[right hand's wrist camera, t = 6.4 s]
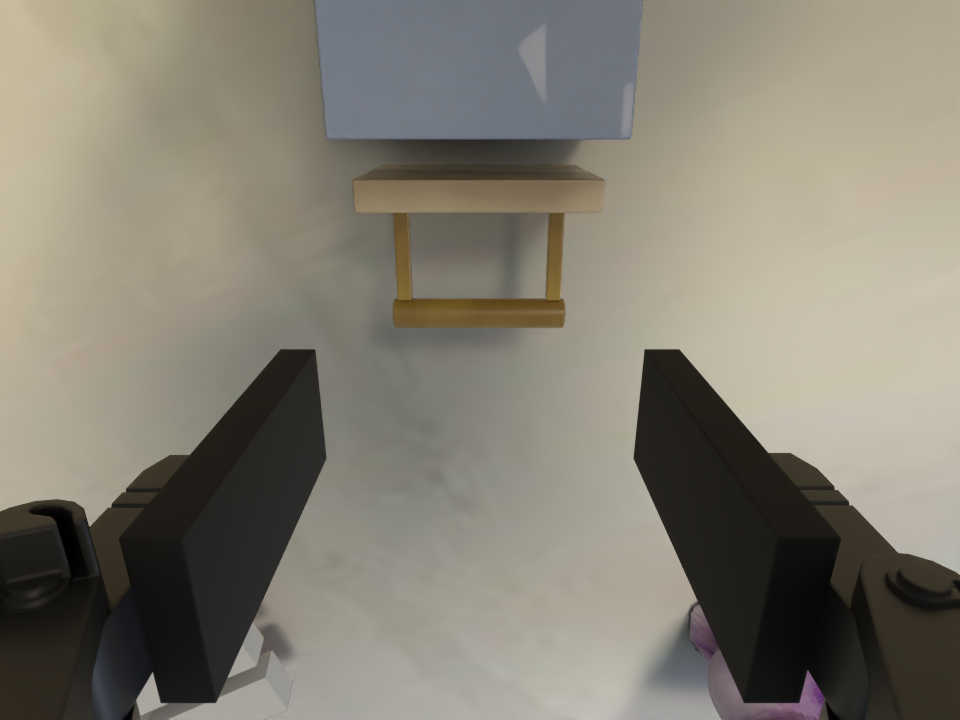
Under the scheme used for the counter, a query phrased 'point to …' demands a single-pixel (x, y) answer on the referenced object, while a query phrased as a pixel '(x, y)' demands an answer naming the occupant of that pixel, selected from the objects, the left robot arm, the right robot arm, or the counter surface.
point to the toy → (231, 690)
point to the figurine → (725, 694)
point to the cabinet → (478, 68)
